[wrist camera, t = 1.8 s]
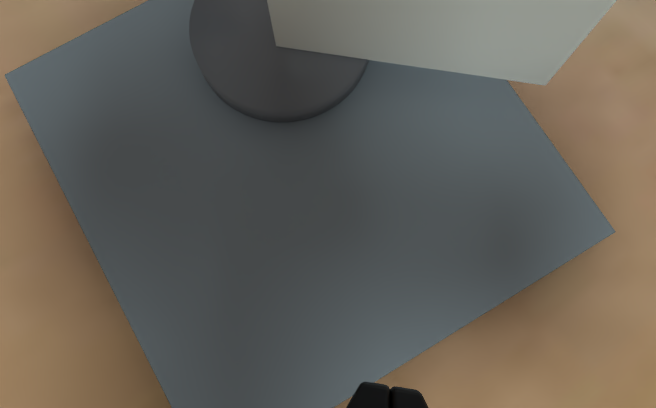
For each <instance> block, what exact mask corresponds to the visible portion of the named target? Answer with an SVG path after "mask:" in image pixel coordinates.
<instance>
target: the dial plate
mask: <svg viewBox="0 0 656 408" xmlns="http://www.w3.org/2000/svg"><path fill="white" fill-rule="evenodd" d="M193 3H194V0H148V1H146V2H144V3H142V4H141V5H139V6H137V7H135V8H133V9H131V10H129V11H127V12H125V13H123V14H121V15H119V16H117V17H115V18H114V19H112V20H110V21H108V22H106V23H104V24H102V25H100V26H98V27H96V28H94V29H92V30H90V31H88V32H86V33H85V34H83V35H81V36H79V37H77V38H75V39H73V40H71V41H69V42H67V43H65V44H63V45H61V46H59V47H58V48H56V49H54V50H52V51H50V52H48V53H46V54H44V55H42V56H40V57H38V58H36V59H34V60H32V61H31V62H29V63H27V64H25V65H23V66H21V67H19V68H17V69H15V70H13V71H11V72H9V73H7V74H5V77H6V79H7V81H8V83H9V85H10V87H11V89H12V91H13V93H14V95H15V97H16V99H17V101H18V103H19V105H20V107H21V109H22V111H23V113H24V115H25V117H26V119H27V121H28V123H29V125H30V127H31V129H32V131H33V133H34V135H35V137H36V139H37V141H38V143H39V145H40V147H41V149H42V151H43V153H44V154H45V156H46V158H47V160H48V162H49V164H50V166H51V168H52V170H53V172H54V174H55V176H56V178H57V180H58V182H59V184H60V186H61V188H62V190H63V192H64V194H65V196H66V198H67V200H68V202H69V204H70V206H71V208H72V210H73V212H74V214H75V216H76V218H77V220H78V222H79V224H80V226H81V228H82V230H83V232H84V234H85V236H86V238H87V240H88V242H89V244H90V246H91V248H92V250H93V252H94V254H95V256H96V258H97V260H98V262H99V264H100V266H101V268H102V270H103V272H104V274H105V276H106V278H107V280H108V282H109V284H110V286H111V288H112V290H113V292H114V294H115V296H116V298H117V300H118V302H119V304H120V306H121V308H122V310H123V311H124V313H125V315H126V317H127V319H128V321H129V323H130V325H131V327H132V329H133V331H134V333H135V335H136V337H137V339H138V341H139V343H140V345H141V347H142V349H143V351H144V353H145V355H146V357H147V359H148V361H149V363H150V365H151V367H152V369H153V371H154V373H155V375H156V377H157V379H158V381H159V383H160V385H161V387H162V389H163V391H164V393H165V395H166V397H167V399H168V401H169V403H170V405H171V407H172V408H333V407H335V406H337V405H338V404H340V403H341V402H343V401H345V400H346V399H348V398H350V397H351V396H353V395H354V393H355V392H356V390H357V388H358V386H359V385H360V384H361V383H362V382H372V383H374V382H375V381H377V380H378V379H380V378H382V377H383V376H385V375H386V374H388V373H390V372H391V371H393V370H394V369H396V368H398V367H399V366H401V365H403V364H404V363H406V362H407V361H409V360H411V359H412V358H414V357H415V356H417V355H419V354H420V353H422V352H423V351H425V350H427V349H428V348H430V347H431V346H433V345H435V344H436V343H438V342H439V341H441V340H443V339H444V338H446V337H447V336H449V335H451V334H452V333H454V332H456V331H457V330H459V329H460V328H462V327H464V326H465V325H467V324H468V323H470V322H472V321H473V320H475V319H476V318H478V317H480V316H481V315H483V314H484V313H486V312H488V311H489V310H491V309H492V308H494V307H496V306H497V305H499V304H500V303H502V302H504V301H505V300H507V299H509V298H510V297H512V296H513V295H515V294H517V293H518V292H520V291H521V290H523V289H525V288H526V287H528V286H529V285H531V284H533V283H534V282H536V281H537V280H539V279H541V278H542V277H544V276H545V275H547V274H549V273H550V272H552V271H553V270H555V269H557V268H558V267H560V266H561V265H563V264H565V263H566V262H568V261H570V260H571V259H573V258H574V257H576V256H578V255H579V254H581V253H582V252H584V251H586V250H587V249H589V248H590V247H592V246H594V245H595V244H597V243H598V242H600V241H602V240H603V239H605V238H606V237H608V236H610V235H611V234H613V233H614V232H615V230H614V229H613V228H612V226H611V225H610V223H609V222H608V221H607V219H606V218H605V217H604V215H603V214H602V212H601V211H600V210H599V208H598V207H597V205H596V204H595V203H594V201H593V200H592V198H591V197H590V196H589V194H588V193H587V191H586V190H585V189H584V187H583V186H582V184H581V183H580V182H579V180H578V179H577V177H576V176H575V175H574V173H573V172H572V170H571V169H570V168H569V166H568V165H567V163H566V162H565V161H564V159H563V158H562V157H561V155H560V154H559V152H558V151H557V150H556V148H555V147H554V145H553V144H552V143H551V141H550V140H549V138H548V137H547V136H546V134H545V133H544V131H543V130H542V129H541V127H540V126H539V124H538V123H537V122H536V120H535V119H534V117H533V116H532V115H531V113H530V112H529V110H528V109H527V108H526V106H525V105H524V103H523V102H522V101H521V99H520V98H519V97H518V95H517V94H516V92H515V91H514V90H513V88H512V87H511V85H510V84H509V83H508V81H507V80H504V79H497V78H491V77H484V76H477V75H470V74H463V73H456V72H449V71H443V70H436V69H429V68H422V67H415V66H408V65H401V64H395V63H388V62H381V61H374V60H369V62H368V65H367V67H366V70H365V73H364V74H363V76H362V78H361V80H360V81H359V83H358V84H357V86H356V87H355V88H354V90H353V91H352V92H351V93H350V94H349V95H348V96H347V97H346V98H345V99H344V100H343V101H341V102H340V103H339V104H337V105H336V106H335V107H333V108H331V109H330V110H328V111H326V112H324V113H322V114H320V115H317V116H315V117H312V118H308V119H305V120H300V121H293V122H271V121H264V120H260V119H256V118H253V117H250V116H247V115H245V114H243V113H241V112H239V111H237V110H235V109H233V108H232V107H230V106H229V105H228V104H226V103H225V102H224V101H223V100H222V99H221V98H219V97H218V96H217V95H216V93H215V92H214V91H213V90H212V89H211V87H210V86H209V84H208V83H207V81H206V79H205V78H204V76H203V74H202V72H201V70H200V68H199V66H198V64H197V61H196V59H195V57H194V54H193V51H192V47H191V44H190V36H189V20H190V14H191V9H192V6H193Z"/></svg>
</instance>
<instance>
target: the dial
mask: <svg viewBox="0 0 656 408" xmlns="http://www.w3.org/2000/svg"><path fill="white" fill-rule="evenodd" d="M616 1H617V0H194V3H193V6H192V9H191V14H190V20H189V36H190V44H191V47H192V51H193V54H194V57H195V59H196V61H197V64H198V66H199V68H200V70H201V72H202V74H203V76H204V78H205V79H206V81H207V83H208V84H209V86H210V87H211V89H212V90H213V91H214V92H215V93H216V95H217V96H218V97H219V98H221V99H222V100H223V101H224V102H225V103H226V104H228V105H229V106H230V107H232V108H233V109H235V110H237V111H239V112H241V113H243V114H245V115H247V116H250V117H253V118H256V119H260V120H264V121H271V122H293V121H300V120H305V119H308V118H312V117H315V116H317V115H320V114H322V113H324V112H326V111H328V110H330V109H331V108H333V107H335V106H336V105H337V104H339V103H340V102H341V101H343V100H344V99H345V98H346V97H347V96H348V95H349V94H350V93H351V92H352V91H353V90H354V88H355V87H356V86H357V84H358V83H359V81H360V80H361V78H362V76H363V74H364V73H365V70H366V67H367V65H368V62H369V60H374V61H381V62H388V63H395V64H401V65H408V66H415V67H422V68H429V69H436V70H443V71H449V72H456V73H463V74H470V75H477V76H484V77H491V78H497V79H504V80H511V81H518V82H525V83H532V84H538V85H546V84H547V83H548V82H549V81H550V79H551V78H552V77H553V76H554V75H555V73H556V72H557V71H558V70H559V69H560V67H561V66H562V65H563V64H564V63H565V61H566V60H567V59H568V58H569V57H570V56H571V54H572V53H573V52H574V51H575V50H576V48H577V47H578V46H579V45H580V44H581V42H582V41H583V40H584V39H585V38H586V36H587V35H588V34H589V33H590V32H591V30H592V29H593V28H594V27H595V26H596V25H597V23H598V22H599V21H600V20H601V19H602V17H603V16H604V15H605V14H606V13H607V11H608V10H609V9H610V8H611V7H612V5H613V4H614V3H615V2H616Z"/></svg>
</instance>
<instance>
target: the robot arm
mask: <svg viewBox="0 0 656 408" xmlns="http://www.w3.org/2000/svg"><path fill="white" fill-rule="evenodd" d="M347 408H428V406H427V404H426V402H425V400H424V398H423V396H422V394H421V393H420V392H419V391H417V390H414V389H408V388H402V387H393V388H391V389H389V387H388V386H387V385H384V384H378V383H372V382H362V383H361V384H360V385H359V386H358V388H357V390H356V392H355V393H354V395H353V397H352V399H351V400H350V402H349V404H348V406H347Z"/></svg>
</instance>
